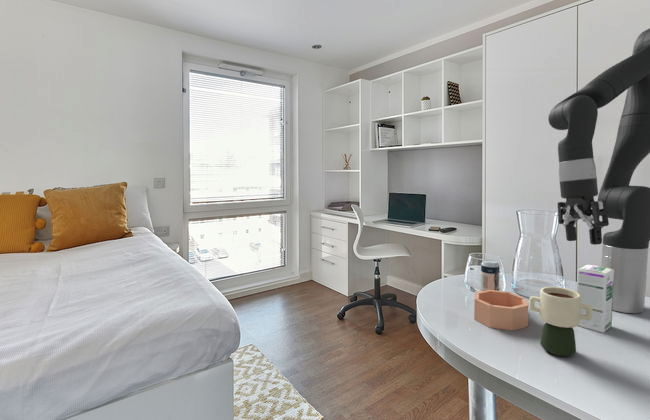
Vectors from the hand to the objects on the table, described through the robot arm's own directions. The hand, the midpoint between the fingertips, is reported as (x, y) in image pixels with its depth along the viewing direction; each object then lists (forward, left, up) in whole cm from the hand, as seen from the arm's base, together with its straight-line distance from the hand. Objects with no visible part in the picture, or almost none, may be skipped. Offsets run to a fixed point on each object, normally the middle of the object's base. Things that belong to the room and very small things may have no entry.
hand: (583, 242), depth 85 cm
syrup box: (+2, +4, -20) cm, 21 cm away
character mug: (+21, +9, -20) cm, 30 cm away
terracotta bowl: (+19, -8, -20) cm, 28 cm away
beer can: (+12, -18, -20) cm, 29 cm away
